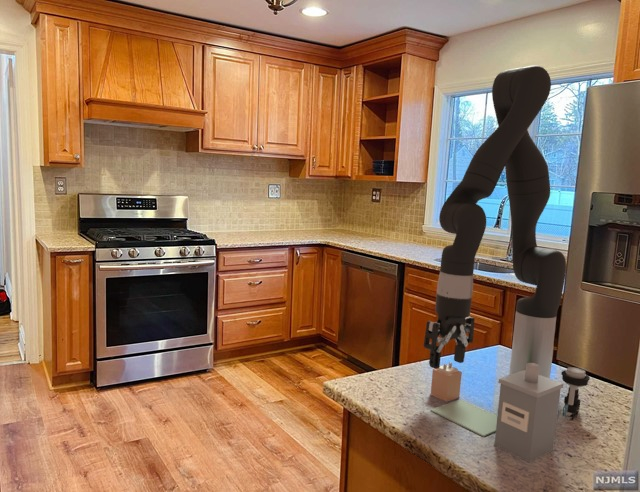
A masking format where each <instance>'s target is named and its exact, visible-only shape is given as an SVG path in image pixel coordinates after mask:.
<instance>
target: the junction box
mask: <svg viewBox="0 0 640 492" xmlns="http://www.w3.org/2000/svg"><path fill="white" fill-rule="evenodd" d="M498 383H499V384H500V386H499V387H500V389H499V397H498V405H497V406H498V408H497V414H496V415H497V425H496V432H495V433H494V434H495V437H494V444H493V446H496V447H497V448H499V449H501V450H502V451H505V452H507V453H508V454H509V453H510V454H511V455H512V456H513V455H514V456H516V457H517V458H520V459H521V460H523V461H524V462H525V461H526V462H528V463H532V462H533V461H535V460H537V459H539V458H541V457H543V456H545V455H546V454H548V453H550V452H552V451H554V449H555V447H554V446H555V437H556V430H557V422H558V421H557V420H558V415H559V404H560V396H561V390H562V389H563V388H564V385H565V384H564V382H560V381H558V380H555V379H553V378H551V377H550V378H547V377H544V376H541V375H539V365H538V364H535V363H527V364H526V370H523V371H520V372H517V373H514V374H511V375H509V374H508V375H504V376H502V377H499V378H498Z"/></svg>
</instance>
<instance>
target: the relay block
mask: <svg viewBox="0 0 640 492" xmlns="http://www.w3.org/2000/svg"><path fill="white" fill-rule="evenodd" d="M452 365H453V363H452V362H448V364H447V363H443V365H440V367H439V368H438V369H435V368H433V369H432V375H431V387H430V395H431V396H433V397H435V398H438V399H439V400H442V401H444V402H446V403H447V402H450V401H453V400H456V399H459V398H460V396H461V395H460V394H461V385H462V383H461V382H462V373H463V371H460V370H459V369H458V368H457V367H454V366H452Z"/></svg>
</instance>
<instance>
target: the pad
mask: <svg viewBox="0 0 640 492" xmlns="http://www.w3.org/2000/svg"><path fill="white" fill-rule="evenodd" d="M430 412H432V413H435V414H437V415H438V416H440V417H442V418H445V419H447V420H449V421H450V422H453V423H455V424H457V425H458V426H461V427H462V428H465V429H467V430H469V431H471V432H473V433H475V434H477V435H479V436H481V437H482V438H483V437H484V438H485V437H487V436H489V435H491V434H495V433H496V425H497V415H498V414H495V413H493V412H491V411H488V410H486V409H483V408H481V407H479V406H477V405H474V404H472V403H470V402H468V401H466V400H463V399H462V398H460V399H458V400H454V401H451V402H448V403H446V404H442V405H439V406H437V407H433V408H432V409H430Z"/></svg>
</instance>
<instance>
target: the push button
mask: <svg viewBox="0 0 640 492" xmlns="http://www.w3.org/2000/svg"><path fill="white" fill-rule="evenodd" d="M560 373H561V375H562V376H561V379H562V382H563V383H564V382H565V384H566V385H568V386H569V387H568V391H567V394H566V396H564V399H563V403H564V406H563V407H562V414H564V415H563V418H564V419H565V420H567V421H570V420H571V421H574V419H575V417H577V418H579V417H580V408H581V399H580V397H579V396H580V393H579V388H582V387H585V386H586V387H587V385H588V383H589V381H590V377H591V376H589V375H588V374H587V373H586V370H584V369H582V368H578V367H572V366H570V367H569V366H568V367H567V368H566V370H562V371H561V372H560ZM576 415H577V416H576Z"/></svg>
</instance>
